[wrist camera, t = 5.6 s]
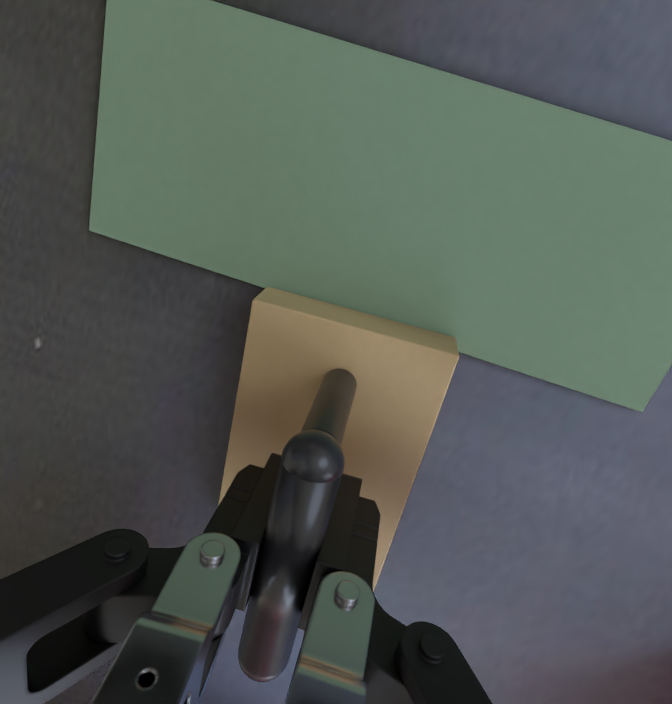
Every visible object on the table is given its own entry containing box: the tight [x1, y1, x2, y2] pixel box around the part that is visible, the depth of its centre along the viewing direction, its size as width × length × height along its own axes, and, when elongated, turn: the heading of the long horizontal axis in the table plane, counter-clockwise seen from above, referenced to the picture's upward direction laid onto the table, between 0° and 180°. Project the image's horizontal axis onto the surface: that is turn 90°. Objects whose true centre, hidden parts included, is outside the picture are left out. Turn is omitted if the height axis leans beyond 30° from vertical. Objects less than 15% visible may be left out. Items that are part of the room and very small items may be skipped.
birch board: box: [218, 287, 459, 682], centre depth 14 cm, size 10×6×6 cm, turn 166°
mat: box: [89, 0, 672, 412], centre depth 14 cm, size 18×7×1 cm, turn 74°
